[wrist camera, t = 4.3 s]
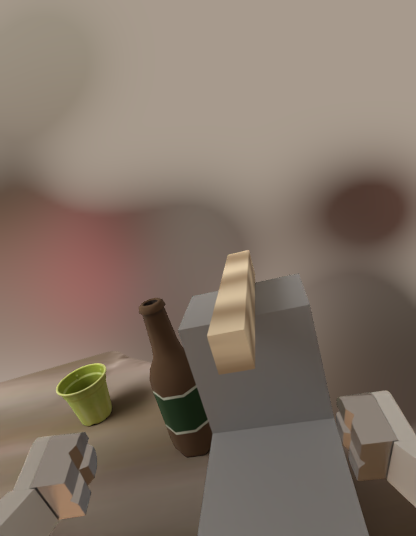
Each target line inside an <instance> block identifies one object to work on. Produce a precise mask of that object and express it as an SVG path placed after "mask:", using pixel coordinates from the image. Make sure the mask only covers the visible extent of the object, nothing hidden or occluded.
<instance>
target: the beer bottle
mask: <svg viewBox="0 0 416 536" xmlns="http://www.w3.org/2000/svg"><path fill="white" fill-rule="evenodd" d="M164 306H165V303H164V301H163V300H162V299H160V298H153V299H149V300H147V301H145V302H143V303H142V304H141V305H140V307H139V313H140V314H142V315H143V319H144V322H145V326H146V329H147V332H148V336H149V340H150V343H151V346H152V352H153V361H152V364H151V368H150V383H151V386H152V390H153V393H154V395H155V398H156V401H157V403H158V406H159V408H160V411H161V414H162V416H163V419H164V422H165V424H166V427H167V430H168V432H169V435H170V437H171V440H172V442H173V444H174V446H175V448H177V449H178V450H179V451H180V452H181V453H182V454H183V455H184V456H186V457H192V456H199V455H205V454H206V453H207V452H208V451H209V450H210V448H211V441H212V434H213V433H212V430H211V427H210V424H209V422H208V419H207V416H206V413H205V410H204V407H203V404H202V401H201V398H200V395H199V392H198V389H197V386H196V383H195V380H194V377H193V374H192V371H191V368H190V365H189V362H188V359H187V356H186V353H185V350H184V348H183V347H182V346H181V344H180V342H179V341H178V339H177V337H176V335H175V332H174V330H173V327H172V325H171V323H170V320H169V318H168V315H167V313H166V311H165V308H164Z"/></svg>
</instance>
